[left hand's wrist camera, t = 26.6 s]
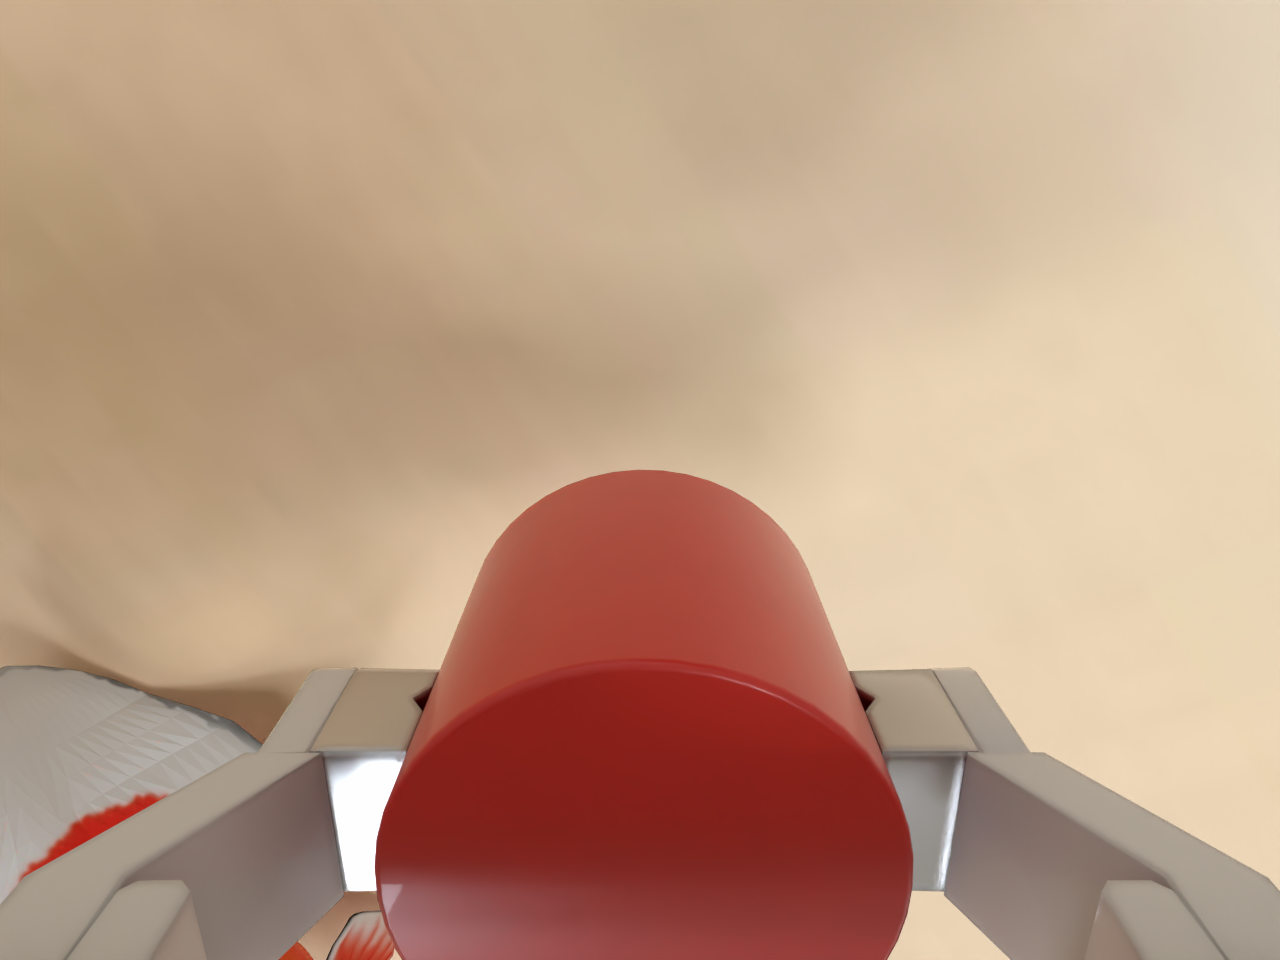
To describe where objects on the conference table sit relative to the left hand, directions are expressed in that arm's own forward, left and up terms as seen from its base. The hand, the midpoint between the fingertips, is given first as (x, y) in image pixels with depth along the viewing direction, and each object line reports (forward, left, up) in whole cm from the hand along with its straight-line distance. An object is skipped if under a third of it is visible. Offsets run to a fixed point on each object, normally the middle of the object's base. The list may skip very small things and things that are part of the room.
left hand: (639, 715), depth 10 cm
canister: (0, 0, -2) cm, 2 cm away
